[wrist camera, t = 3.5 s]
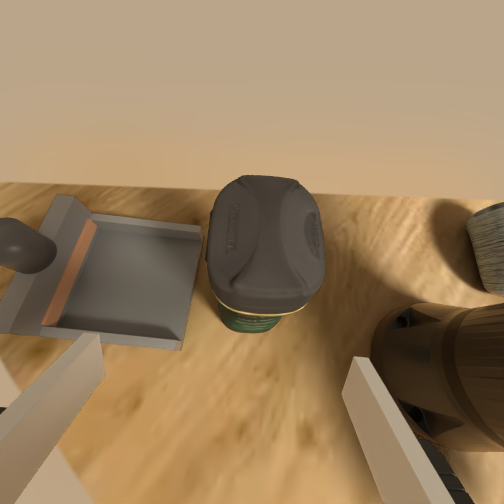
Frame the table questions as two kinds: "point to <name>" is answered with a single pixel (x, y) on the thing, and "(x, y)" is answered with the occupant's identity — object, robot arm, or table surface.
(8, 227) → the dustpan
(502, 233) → the spool
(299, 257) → the coffee jar
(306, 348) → the table surface
